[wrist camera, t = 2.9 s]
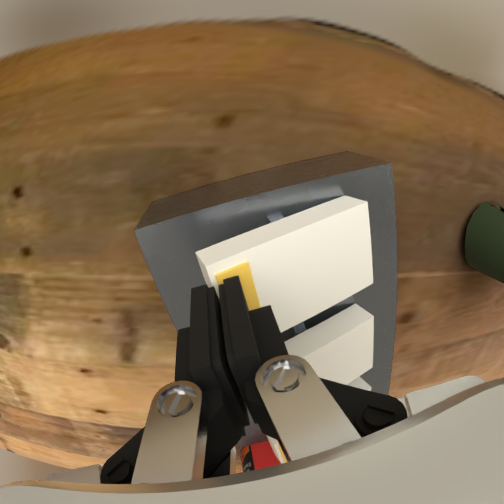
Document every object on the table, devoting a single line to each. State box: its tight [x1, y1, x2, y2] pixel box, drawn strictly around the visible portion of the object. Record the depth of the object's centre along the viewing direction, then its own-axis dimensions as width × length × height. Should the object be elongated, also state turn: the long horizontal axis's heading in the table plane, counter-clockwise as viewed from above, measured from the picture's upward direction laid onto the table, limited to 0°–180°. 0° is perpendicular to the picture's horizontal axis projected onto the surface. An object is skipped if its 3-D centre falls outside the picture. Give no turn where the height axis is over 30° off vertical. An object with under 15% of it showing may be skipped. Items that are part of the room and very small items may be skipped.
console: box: [134, 151, 397, 447], centre depth 18 cm, size 12×18×6 cm
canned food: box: [241, 441, 281, 472], centre depth 24 cm, size 8×8×11 cm
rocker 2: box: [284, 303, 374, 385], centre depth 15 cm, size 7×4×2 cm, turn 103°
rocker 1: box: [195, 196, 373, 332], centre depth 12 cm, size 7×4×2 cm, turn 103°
